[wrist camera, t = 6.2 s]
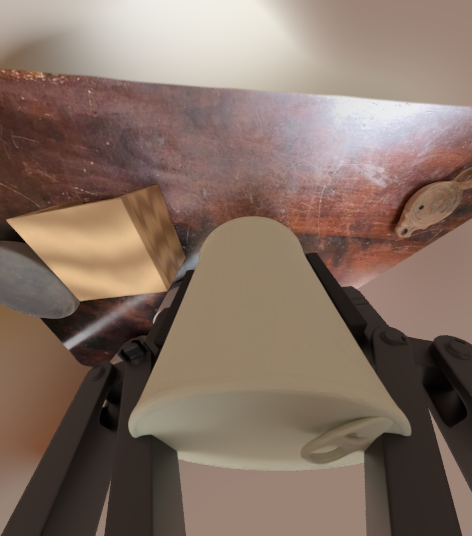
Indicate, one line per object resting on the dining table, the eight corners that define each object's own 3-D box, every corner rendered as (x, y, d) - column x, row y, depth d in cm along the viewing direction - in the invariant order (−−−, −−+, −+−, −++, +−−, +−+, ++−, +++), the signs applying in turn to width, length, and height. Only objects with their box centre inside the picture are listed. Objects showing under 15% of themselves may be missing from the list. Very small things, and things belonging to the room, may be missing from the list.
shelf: (74, 200, 34) (5, 219, 24) (158, 184, 32) (120, 198, 22) (117, 266, 43) (79, 301, 33) (186, 257, 41) (167, 291, 31)
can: (324, 266, 15) (474, 477, 5) (249, 315, 19) (255, 490, 9) (251, 188, 12) (294, 363, 2) (179, 266, 16) (72, 458, 6)
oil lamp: (398, 238, 37) (418, 249, 32) (375, 220, 35) (394, 229, 30) (472, 179, 30) (508, 183, 26) (449, 153, 28) (484, 153, 24)
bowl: (106, 263, 43) (81, 283, 36) (88, 309, 52) (66, 331, 46) (2, 209, 36) (-53, 222, 29) (3, 273, 46) (-38, 293, 39)
